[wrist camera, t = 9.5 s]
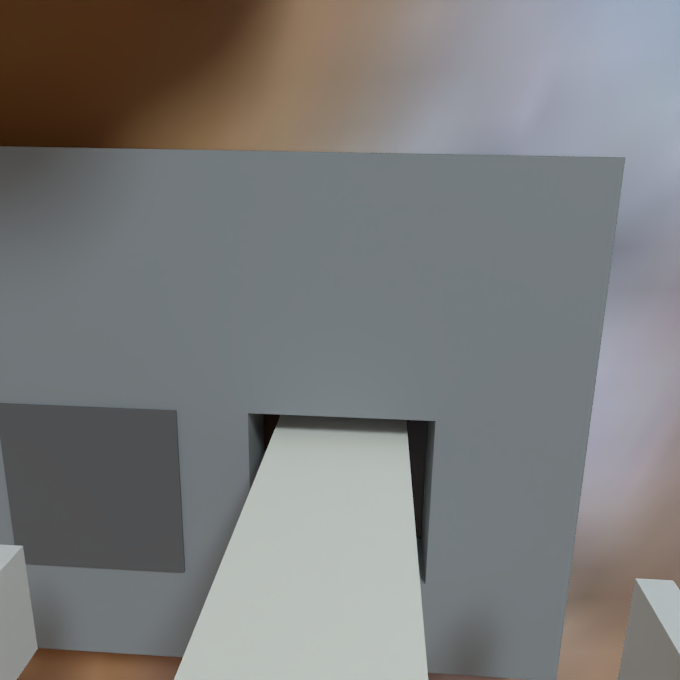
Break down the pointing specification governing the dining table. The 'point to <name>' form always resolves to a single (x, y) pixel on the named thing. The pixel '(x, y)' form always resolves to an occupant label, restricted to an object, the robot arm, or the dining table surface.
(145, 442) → the outlet plate
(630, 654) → the robot arm
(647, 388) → the dining table surface
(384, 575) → the light grey rectangular block
